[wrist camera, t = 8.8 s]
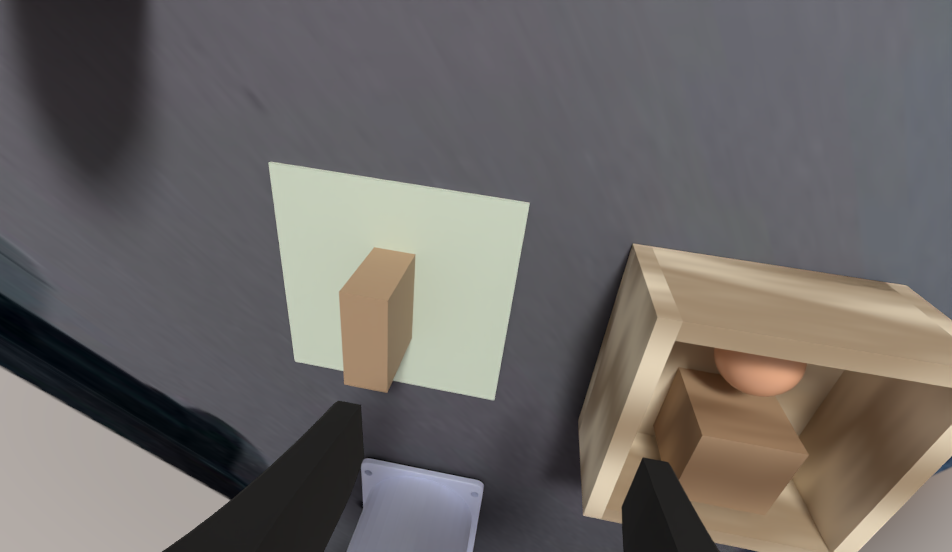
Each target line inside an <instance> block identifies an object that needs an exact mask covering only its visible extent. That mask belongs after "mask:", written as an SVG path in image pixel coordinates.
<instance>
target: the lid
mask: <svg viewBox="0 0 952 552" xmlns="http://www.w3.org/2000/svg"><path fill="white" fill-rule="evenodd" d="M269 171H270V178H271V186H272V193H273V201H274V208H275V216H276V223H277V231H278V238H279V246H280V253H281V261H282V268H283V276H284V283H285V291H286V298H287V306H288V314H289V321H290V329H291V336H292V344H293V351H294V359H295V362H301V363H306V364H311V365H316V366H321V367H326V368H331V369H336V370H341V371H344V384H345V385H350V386H355V387H360V388H365V389H370V390H376V391H381V392H386V393H387V392H388V390H389V388H390V386H391V383H392V381H398V382H403V383H408V384H413V385H418V386H423V387H429V388H434V389H439V390H444V391H449V392H454V393H459V394H464V395H470V396H475V397H480V398H485V399H490V400H494V399H495V393H496V388H497V382H498V377H499V371H500V365H501V360H502V354H503V349H504V343H505V338H506V332H507V327H508V321H509V315H510V310H511V304H512V299H513V293H514V288H515V282H516V276H517V271H518V265H519V260H520V254H521V249H522V243H523V238H524V232H525V226H526V221H527V215H528V210H529V204H530V203H528V202H522V201H516V200H509V199H503V198H497V197H490V196H484V195H478V194H472V193H465V192H459V191H453V190H446V189H440V188H434V187H427V186H421V185H415V184H408V183H402V182H396V181H390V180H383V179H377V178H371V177H364V176H358V175H352V174H345V173H339V172H333V171H326V170H320V169H314V168H308V167H301V166H295V165H289V164H282V163H276V162H269Z"/></svg>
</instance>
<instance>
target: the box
mask: <svg viewBox="0 0 952 552" xmlns="http://www.w3.org/2000/svg"><path fill="white" fill-rule="evenodd" d="M714 348H720V349H726V350H732V351H738V352H743V353H749V354H755V355H761V356H767V357H773V358H779V359H785V360H791V361H797V362H802V363H807V367H806V371H805V374H804V376H803V378H802V379H801V380H800V382H799V383H798V384H797V385H796V386H795V387H794V388H792V389H791V390H789V391H787V392H785V393H783V394H780V395H776V396H775V397H776V399H777V400H778V402H779V404H780V406H781V407H782V409H783V411H784V413H785V414H786V416H787V418H788V420H789V421H790V423H791V425H792V426H793V428H794V430H795V432H796V433H797V435H798V437H799V439H800V440H801V442H802V444H803V446H804V447H805V449H806V451H807V452H808V454H809V456H808V457H807V458H806V460H805V461H804V463H803V464H802V465H801V467H800V468H799V469H798V471H797V472H796V473H795V475H794V476H793V478H792V479H791V480H790V482H789V483H788V484H787V486H786V487H785V489H784V490H783V491H782V493H781V494H780V495H779V497H778V498H777V499H776V501H775V502H774V504H773V505H772V506H771V508H770V509H769V510H768V512H767V513H766V515H760V514H755V513H750V512H744V511H739V510H734V509H729V508H724V507H719V506H714V505H709V504H704V503H699V502H694V501H690V502H691V503H692V505H693V507H694V509H695V511H696V512H697V514H698V516H699V518H700V519H701V521H702V523H703V525H704V526H705V528H706V530H707V531H708V533H709V535H710V536H711V538H712V540H713V541H714V542H715V543H720V544H725V545H730V546H735V547H740V548H744V549H749V550H754V551H759V552H858V551H859V550H860V549H861V547H863V545H865V544H866V543H867V541H868V540H869V539H870V538H871V537H872V536H873V535H874V534H875V533H876V532H877V531H878V530H879V529H880V528H881V527H882V526H883V525H884V524H885V523H886V522H887V521H888V520H889V519H890V518H891V517H892V516H893V515H894V514H895V513H896V512H897V511H898V510H899V509H900V508H901V507H902V506H903V505H904V504H905V503H906V502H907V501H908V500H909V499H910V498H911V497H912V496H913V495H914V494H915V493H916V492H917V491H918V489H919V488H921V487H922V486H923V484H924V483H925V482H926V481H927V480H928V479H929V478H930V477H931V476H932V475H933V474H934V473H935V472H936V471H937V470H938V469H939V468H940V467H941V466H942V465H943V464H944V463H945V462H946V461H947V460H948V459H949V458H950V457H951V456H952V320H951V319H949V318H948V317H947V316H945V315H944V314H943V313H941V312H940V311H939V310H938V309H936V308H935V307H934V306H932V305H931V304H930V303H928V302H927V301H926V300H925V299H923V298H922V297H921V296H919V295H918V294H917V293H915V292H914V291H913V290H911V289H910V288H909V287H908V286H906V285H900V284H894V283H887V282H880V281H874V280H867V279H861V278H854V277H848V276H841V275H835V274H828V273H822V272H815V271H809V270H802V269H796V268H789V267H783V266H776V265H769V264H763V263H756V262H750V261H743V260H737V259H730V258H724V257H717V256H711V255H704V254H698V253H691V252H685V251H678V250H671V249H665V248H658V247H652V246H645V245H639V244H633V245H632V248H631V251H630V254H629V258H628V261H627V264H626V267H625V271H624V274H623V277H622V280H621V283H620V287H619V290H618V293H617V296H616V300H615V303H614V306H613V309H612V313H611V316H610V319H609V322H608V326H607V329H606V332H605V335H604V339H603V342H602V345H601V348H600V351H599V355H598V358H597V361H596V364H595V368H594V371H593V374H592V377H591V381H590V384H589V387H588V390H587V394H586V397H585V400H584V403H583V407H582V410H581V413H580V416H579V419H578V429H579V448H580V466H581V485H582V503H583V516H588V517H593V518H598V519H603V520H608V521H612V522H617V523H622V508H621V507H622V504H623V502H624V500H625V497H626V495H627V493H628V490H629V488H630V486H631V483H632V481H633V479H634V476H635V474H636V472H637V469H638V467H639V465H640V462H641V460H642V458H643V457H644V458H649V459H654V460H660V461H661V457H660V452H659V448H658V444H657V440H656V435H655V431H654V427H653V425H654V422H655V420H656V418H657V416H658V413H659V411H660V409H661V406H662V404H663V402H664V400H665V397H666V395H667V393H668V390H669V388H670V386H671V384H672V381H673V379H674V377H675V374H676V372H677V370H678V367H681V368H686V369H692V370H698V371H704V372H709V373H715V374H720V372H719V371H718V369H717V366H716V364H715V360H714Z"/></svg>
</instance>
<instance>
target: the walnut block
mask: <svg viewBox="0 0 952 552" xmlns="http://www.w3.org/2000/svg"><path fill="white" fill-rule="evenodd" d="M653 427H654V431H655V435H656V440H657V444H658V448H659V452H660V457H661V461H665V462H668V463H669V464H670V465H671V467H672V469H673V471H674V472H675V474H676V476H677V478H678V480H679V482H680V483H681V485H682V487H683V489H684V491H685V493H686V494H687V496H688V498H689V500H690V501H694V502H699V503H704V504H709V505H714V506H719V507H724V508H729V509H734V510H739V511H744V512H750V513H755V514H760V515H766V513H767V512H768V510H769V509H770V508H771V506H772V505H773V504H774V502H775V501H776V499H777V498H778V497H779V495H780V494H781V493H782V491H783V490H784V489H785V487H786V486H787V484H788V483H789V482H790V480H791V479H792V478H793V476H794V475H795V473H796V472H797V471H798V469H799V468H800V467H801V465H802V464H803V463H804V461H805V460H806V458H807V457H808V456H809V454H808V452H807V451H806V449H805V447H804V446H803V444H802V442H801V440H800V439H799V437H798V435H797V433H796V432H795V430H794V428H793V426H792V425H791V423H790V421H789V420H788V418H787V416H786V414H785V413H784V411H783V409H782V407H781V406H780V404H779V402H778V400H777V399H776V397H775V396H770V397H760V396H753V395H749V394H746V393H744V392H741V391H739V390H737V389H736V388H734V387H733V386H731V385H730V384H729V383H728V382H727V381H726V380H725V379H724V378H723V377H722V376H721V374H715V373H709V372H704V371H698V370H692V369H686V368H681V367H678V370H677V372H676V374H675V377H674V379H673V381H672V384H671V386H670V388H669V390H668V393H667V395H666V397H665V400H664V402H663V404H662V406H661V409H660V411H659V413H658V416H657V418H656V420H655V422H654V425H653Z"/></svg>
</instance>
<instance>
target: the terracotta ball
mask: <svg viewBox="0 0 952 552" xmlns="http://www.w3.org/2000/svg"><path fill="white" fill-rule="evenodd" d="M714 360H715V364H716V366H717V369H718V371H719V372H720V374H721V376H722V377H723V378H724V379H725V380H726V381H727V382H728V383H729V384H730V385H731V386H733V387H734V388H736V389H737V390H739V391H741V392H744V393H746V394H749V395H753V396H760V397H770V396H776V395H780V394H783V393H785V392H787V391H789V390H791V389H792V388H794V387H795V386H796V385H797V384H798V383H799V382H800V380H801V379H802V378H803V376H804V374H805V371H806V367H807V363H802V362H797V361H791V360H785V359H779V358H773V357H767V356H761V355H755V354H749V353H743V352H738V351H732V350H726V349H720V348H714Z"/></svg>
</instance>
